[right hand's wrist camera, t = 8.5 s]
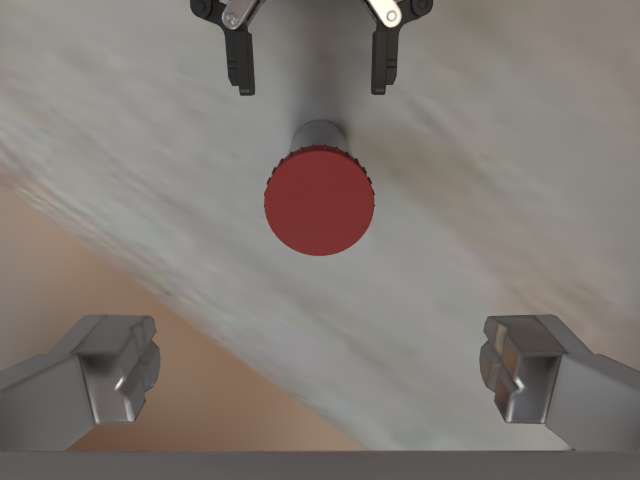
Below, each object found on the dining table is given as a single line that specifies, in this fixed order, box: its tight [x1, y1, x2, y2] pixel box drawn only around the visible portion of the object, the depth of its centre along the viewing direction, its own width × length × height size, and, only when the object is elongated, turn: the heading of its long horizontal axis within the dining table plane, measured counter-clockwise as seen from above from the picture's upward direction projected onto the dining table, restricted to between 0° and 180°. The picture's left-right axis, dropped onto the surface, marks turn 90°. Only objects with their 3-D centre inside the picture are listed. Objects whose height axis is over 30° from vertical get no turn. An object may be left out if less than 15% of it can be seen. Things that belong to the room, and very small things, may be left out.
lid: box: [264, 144, 375, 256], centre depth 21 cm, size 5×5×2 cm
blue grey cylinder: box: [286, 120, 353, 157], centre depth 28 cm, size 5×5×16 cm
